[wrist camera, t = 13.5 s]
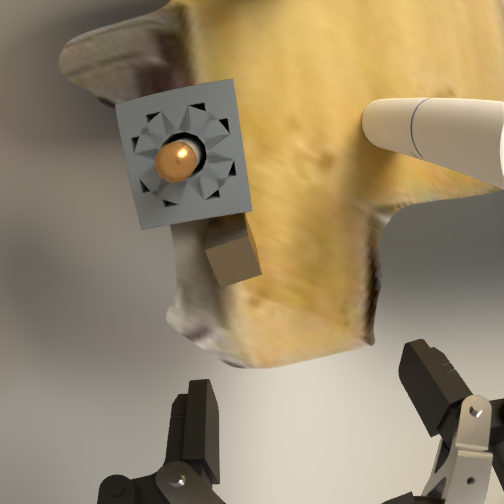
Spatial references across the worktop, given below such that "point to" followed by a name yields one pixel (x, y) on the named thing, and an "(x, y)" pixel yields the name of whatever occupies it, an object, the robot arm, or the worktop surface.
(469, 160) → the cylindrical container
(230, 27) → the worktop surface
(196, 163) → the cylinder
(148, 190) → the socket block
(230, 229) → the square bit
